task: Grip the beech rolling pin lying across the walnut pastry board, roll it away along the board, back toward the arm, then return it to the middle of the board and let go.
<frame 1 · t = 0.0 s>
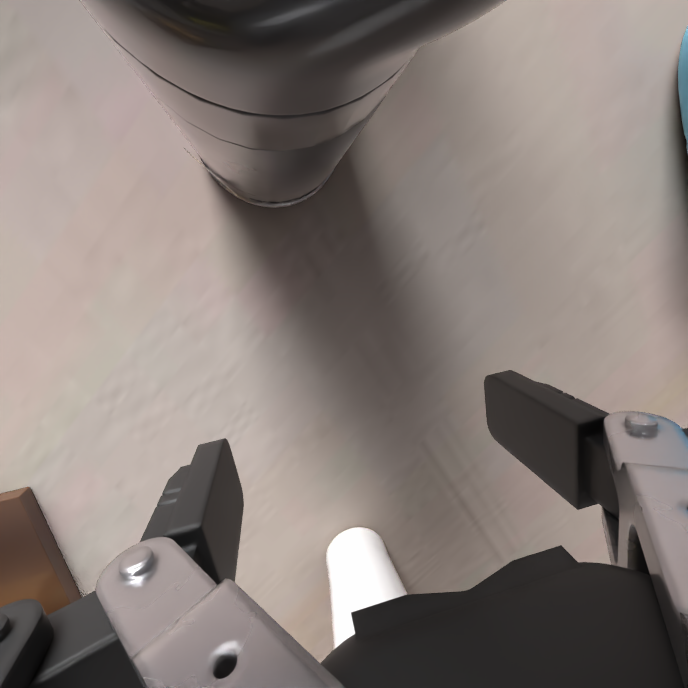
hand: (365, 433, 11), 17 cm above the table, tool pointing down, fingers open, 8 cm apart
drinking glass: (354, 547, 33), on the table
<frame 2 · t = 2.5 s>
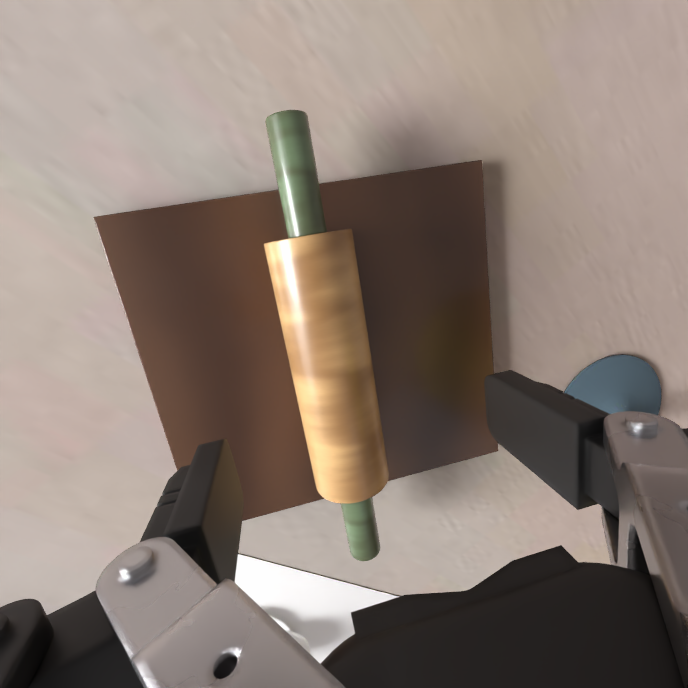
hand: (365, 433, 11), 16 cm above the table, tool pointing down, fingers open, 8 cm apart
cocktail glass: (605, 411, 33), on the table
pastry board: (330, 351, 27), on the table
rolling pin: (332, 368, 23), point 4 cm above the table, slide at 6.0 cm
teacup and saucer: (267, 663, 33), on the table
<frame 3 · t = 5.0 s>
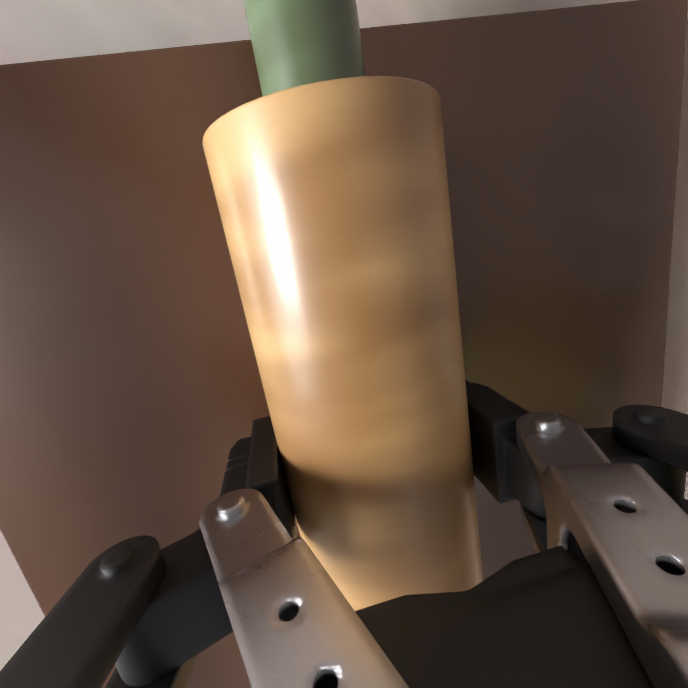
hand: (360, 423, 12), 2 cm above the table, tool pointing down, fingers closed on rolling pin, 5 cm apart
pastry board: (360, 396, 14), on the table
rolling pin: (375, 451, 10), point 4 cm above the table, slide at 6.0 cm, touching gripper
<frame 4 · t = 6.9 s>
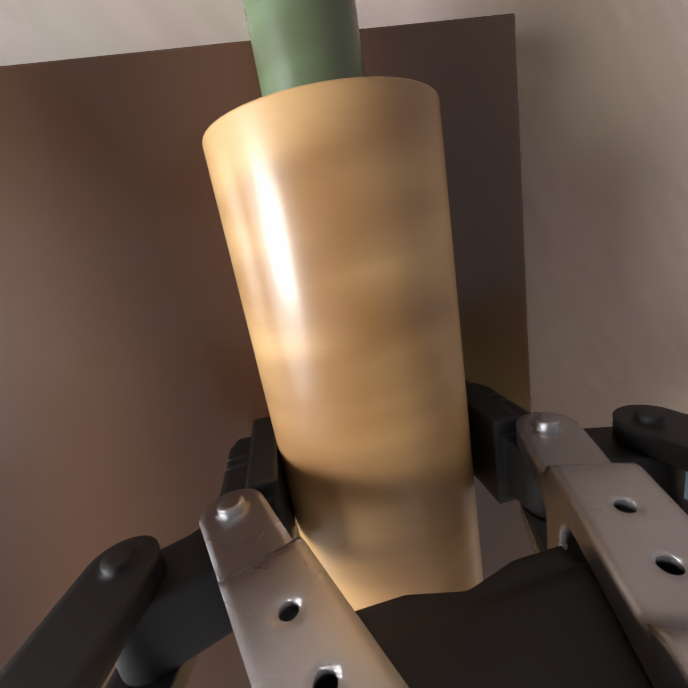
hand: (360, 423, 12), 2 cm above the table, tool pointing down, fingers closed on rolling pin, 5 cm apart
pastry board: (201, 434, 13), on the table
rolling pin: (375, 451, 10), point 4 cm above the table, slide at 11.9 cm, touching gripper
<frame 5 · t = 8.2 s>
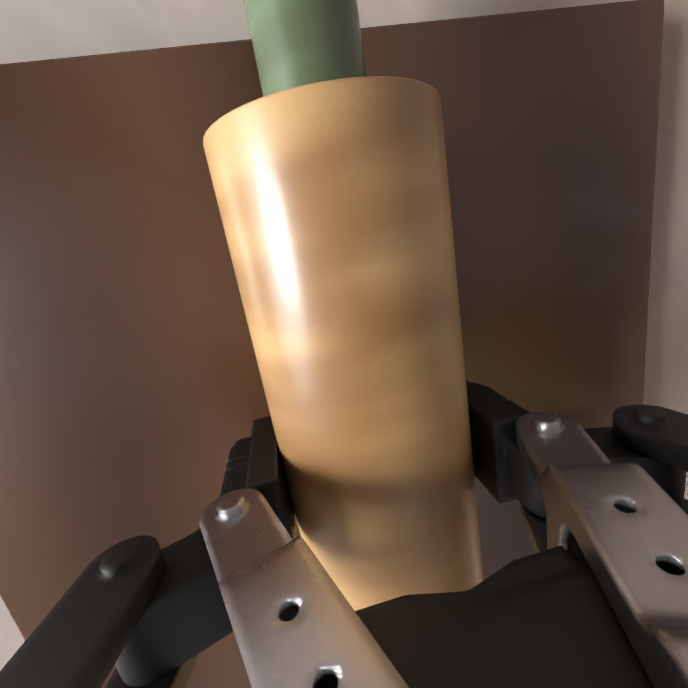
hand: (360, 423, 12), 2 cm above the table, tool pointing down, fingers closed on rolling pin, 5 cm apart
pastry board: (338, 401, 14), on the table
rolling pin: (376, 451, 10), point 4 cm above the table, slide at 6.9 cm, touching gripper
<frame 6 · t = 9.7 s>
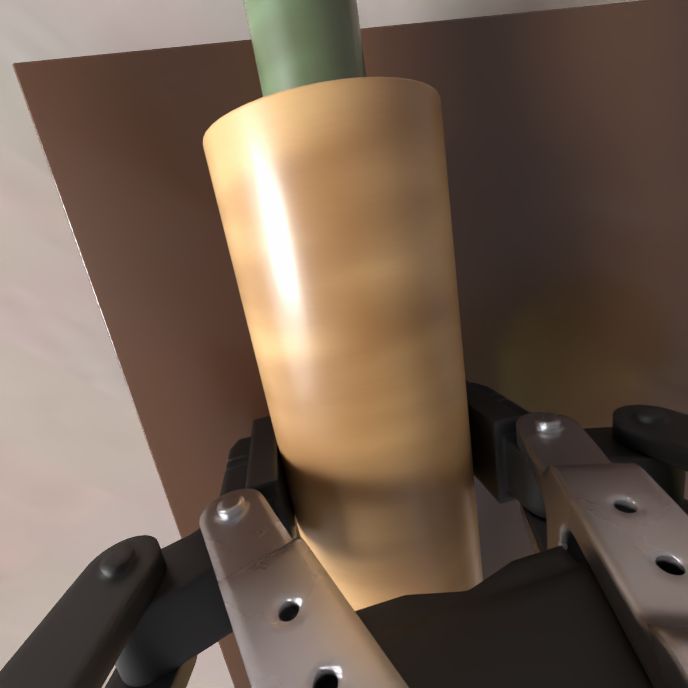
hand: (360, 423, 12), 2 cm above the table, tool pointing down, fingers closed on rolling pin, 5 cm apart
pastry board: (480, 367, 14), on the table
rolling pin: (375, 451, 10), point 4 cm above the table, slide at 1.2 cm, touching gripper
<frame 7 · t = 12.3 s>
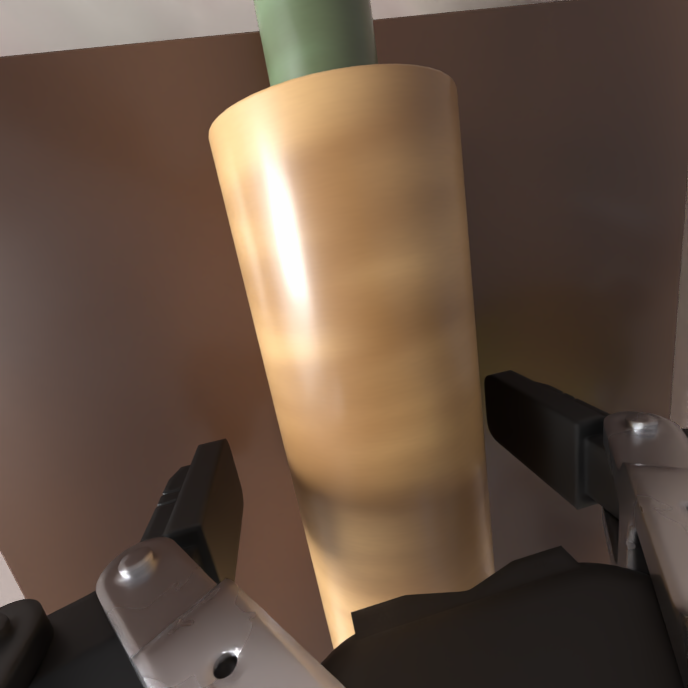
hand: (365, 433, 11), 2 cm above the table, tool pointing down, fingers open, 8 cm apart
pastry board: (363, 399, 13), on the table
rolling pin: (385, 456, 10), point 4 cm above the table, slide at 6.2 cm
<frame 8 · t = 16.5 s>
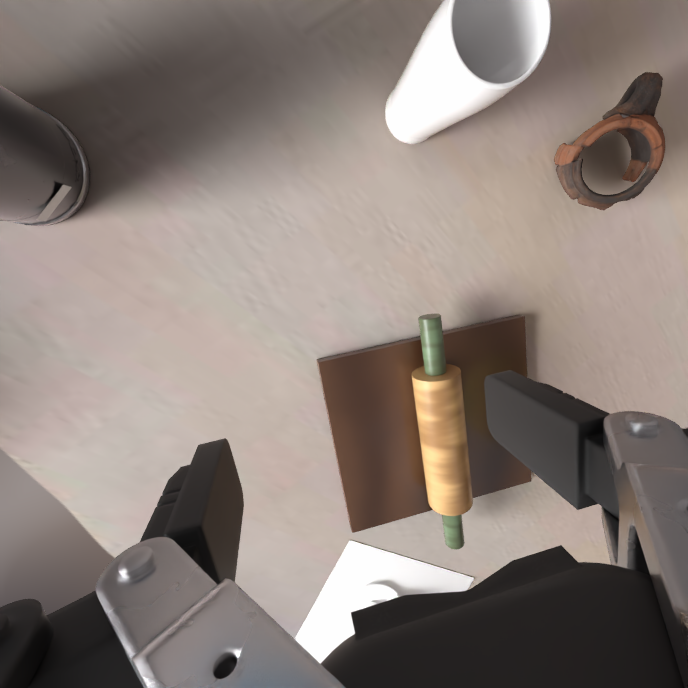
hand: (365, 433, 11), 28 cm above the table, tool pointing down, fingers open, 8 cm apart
pastry board: (431, 423, 44), on the table
rolling pin: (443, 439, 40), point 4 cm above the table, slide at 6.2 cm
drinking glass: (409, 116, 36), on the table
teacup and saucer: (380, 618, 50), on the table
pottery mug: (590, 154, 40), on the table
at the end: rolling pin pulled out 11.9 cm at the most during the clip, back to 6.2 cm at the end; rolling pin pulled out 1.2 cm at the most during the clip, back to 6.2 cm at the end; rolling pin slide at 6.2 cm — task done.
